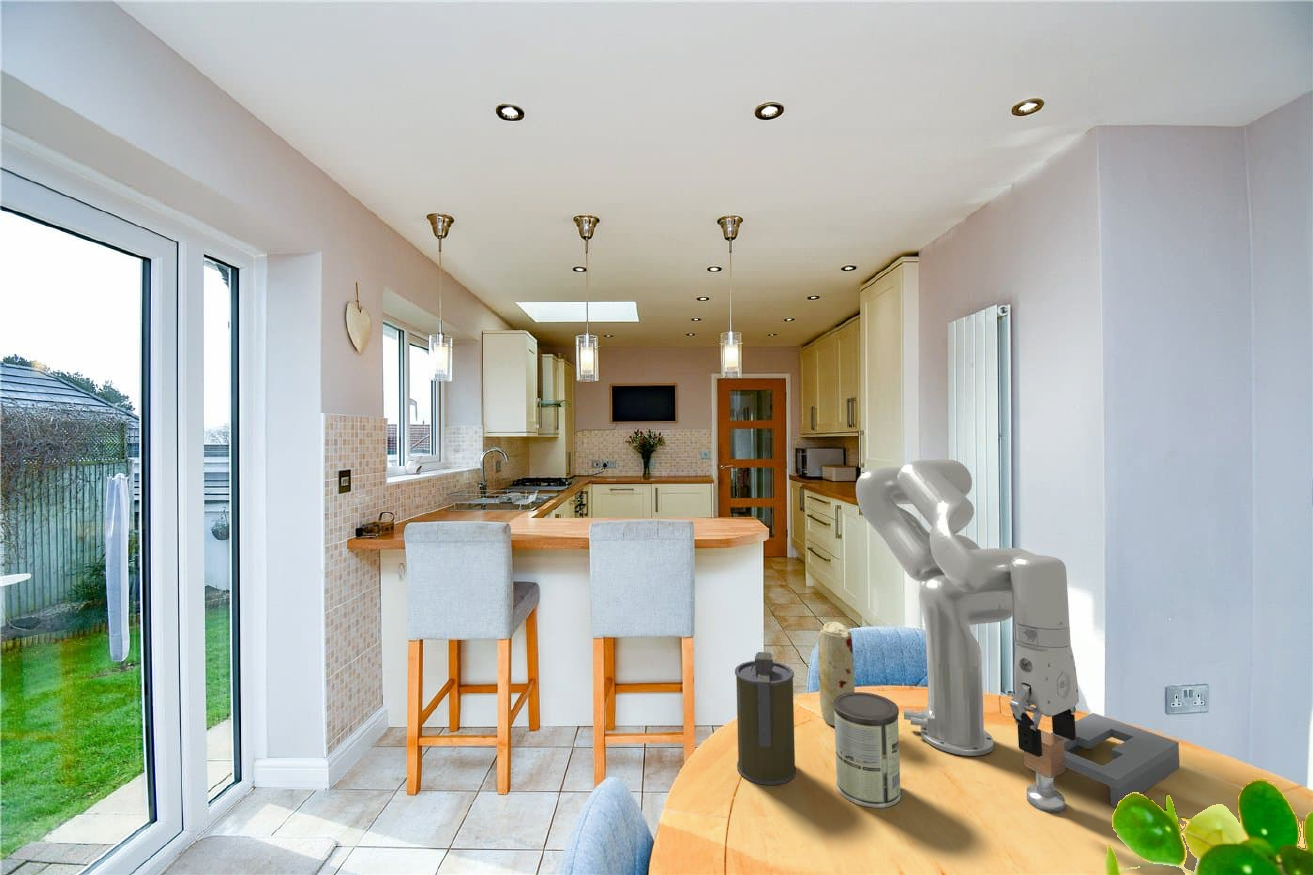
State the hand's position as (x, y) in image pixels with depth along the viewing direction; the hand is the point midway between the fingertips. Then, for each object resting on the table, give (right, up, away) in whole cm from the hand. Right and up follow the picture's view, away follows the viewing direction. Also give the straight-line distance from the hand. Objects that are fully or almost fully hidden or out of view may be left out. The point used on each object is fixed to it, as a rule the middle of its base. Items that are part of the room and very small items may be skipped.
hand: (1047, 744), depth 91 cm
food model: (-24, -11, +29) cm, 39 cm away
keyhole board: (+17, -9, +10) cm, 22 cm away
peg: (0, -10, +1) cm, 10 cm away
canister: (-42, -11, +12) cm, 45 cm away
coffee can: (-26, -11, +5) cm, 29 cm away
